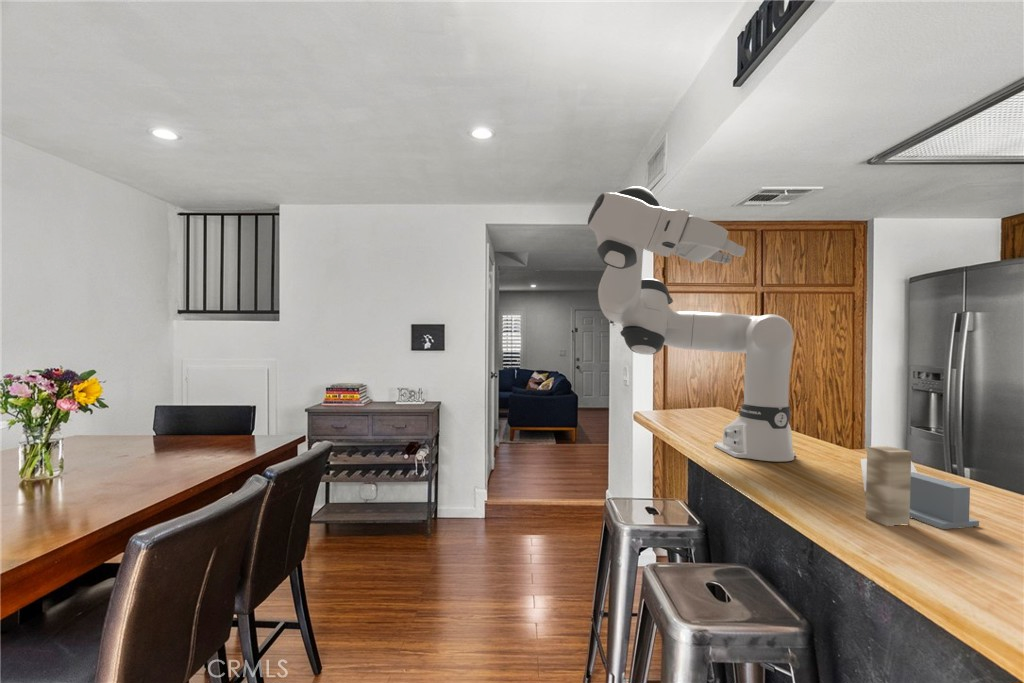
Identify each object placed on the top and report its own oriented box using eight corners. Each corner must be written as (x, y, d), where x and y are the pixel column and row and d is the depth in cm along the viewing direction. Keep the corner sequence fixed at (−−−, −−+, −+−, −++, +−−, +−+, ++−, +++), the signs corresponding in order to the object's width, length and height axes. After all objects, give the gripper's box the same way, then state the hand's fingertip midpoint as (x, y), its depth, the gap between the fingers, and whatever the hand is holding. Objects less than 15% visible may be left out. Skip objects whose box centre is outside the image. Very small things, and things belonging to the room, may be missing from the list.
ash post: (865, 517, 93) (867, 446, 93) (885, 516, 94) (887, 445, 94) (888, 526, 89) (890, 452, 89) (909, 525, 90) (911, 451, 90)
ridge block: (888, 509, 98) (889, 473, 98) (922, 507, 100) (923, 471, 100) (942, 529, 88) (943, 488, 88) (979, 526, 90) (980, 486, 90)
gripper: (656, 256, 113) (718, 278, 111) (670, 239, 92) (745, 264, 90) (667, 229, 112) (729, 250, 110) (683, 206, 92) (759, 231, 90)
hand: (736, 256), depth 100 cm, fingers open, 8 cm apart
